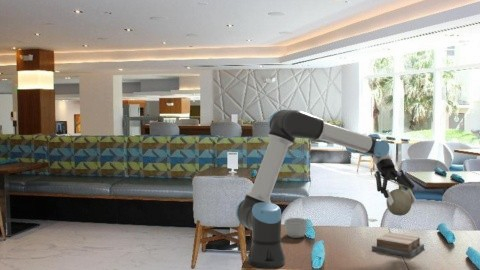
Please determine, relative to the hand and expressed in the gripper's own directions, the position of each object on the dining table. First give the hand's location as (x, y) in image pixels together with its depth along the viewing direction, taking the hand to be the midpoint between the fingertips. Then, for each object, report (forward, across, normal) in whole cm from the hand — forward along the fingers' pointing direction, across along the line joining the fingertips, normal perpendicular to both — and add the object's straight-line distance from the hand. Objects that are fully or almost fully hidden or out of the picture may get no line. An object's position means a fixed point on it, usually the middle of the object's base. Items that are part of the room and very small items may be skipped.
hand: (403, 202), depth 215 cm
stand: (+13, 0, -17) cm, 22 cm away
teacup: (-11, +35, -42) cm, 55 cm away
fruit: (+2, 0, -6) cm, 7 cm away
